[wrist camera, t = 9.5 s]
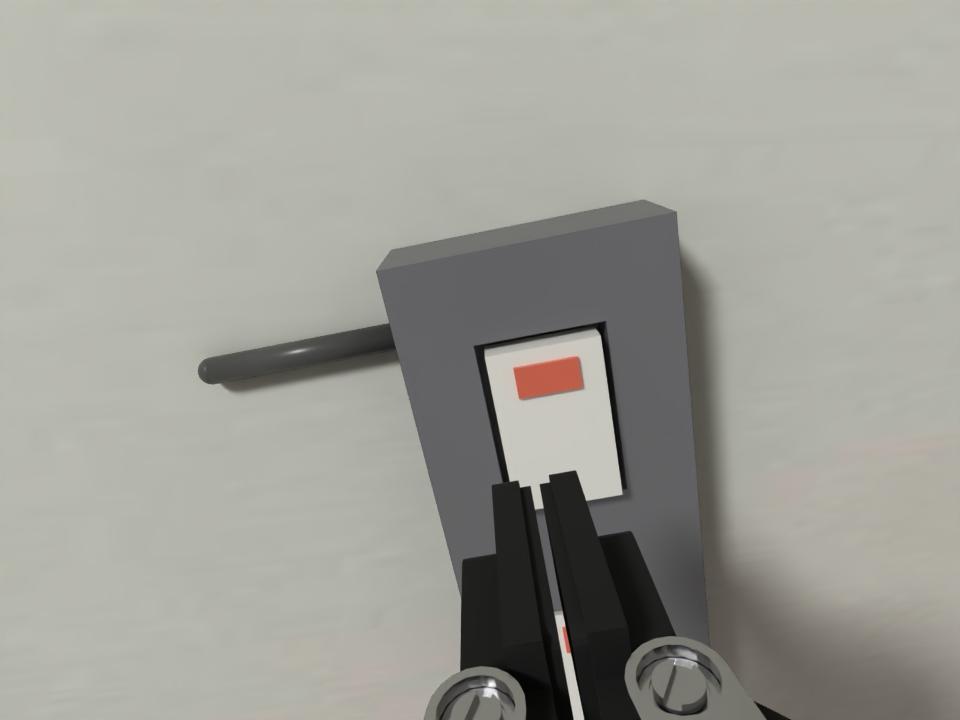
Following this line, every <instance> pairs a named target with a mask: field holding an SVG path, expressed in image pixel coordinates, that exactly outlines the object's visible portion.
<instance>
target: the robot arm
mask: <svg viewBox="0 0 960 720" xmlns="http://www.w3.org/2000/svg"><path fill="white" fill-rule="evenodd" d="M549 481H550V482H549V483H543V484H539V485H540V491H541V496H542V502H543V508H544V513H545V519H546V524H547V530H548V535H549V541H550V546H551V552H552V557H553V563H554V568H555V574H556V580H557V585H558V591H559V596H560V601H561V607H562V612H563V617H564V622H565V627H566V632H567V637H568V642H569V646H570V651H571V656H572V661H573V666H574V671H575V676H576V681H577V686H578V691H579V696H580V701H581V706H582V711H583V716H584V720H791V719H789V718H787V717H785V716H783V715H781V714H779V713H777V712H775V711H773V710H771V709H769V708H767V707H765V706H763V705H761V704H759V703H757V702H755V701H753V700H752V698H751V697H750V695H749V694H748V693H747V691H746V690H745V688H744V687H743V686H742V684H741V683H740V681H739V680H738V678H737V677H736V676H735V674H734V673H733V671H732V670H731V668H730V667H729V666H728V664H727V663H726V662H725V661H724V660H723V659H722V657H721V656H720V655H719V654H718V653H717V652H716V651H714V650H713V649H711V648H709V647H708V646H706V645H705V644H703V643H701V642H698V641H695V640H692V639H689V638H686V637H677V636H676V634H675V631H674V629H673V627H672V624H671V622H670V620H669V617H668V615H667V613H666V610H665V608H664V605H663V603H662V601H661V598H660V596H659V594H658V591H657V589H656V587H655V584H654V582H653V579H652V577H651V575H650V572H649V570H648V568H647V565H646V563H645V561H644V558H643V556H642V553H641V551H640V549H639V546H638V544H637V542H636V539H635V537H634V535H633V533H632V532H631V531H626V532H620V533H614V534H608V535H602V536H598V535H597V532H596V529H595V526H594V523H593V520H592V517H591V514H590V511H589V508H588V505H587V502H586V498H585V495H584V492H583V489H582V486H581V483H580V480H579V477H578V474H577V472H576V470H574V471H568V472H562V473H557V474H551V475H549ZM492 500H493V515H494V530H495V545H496V554H490V555H484V556H479V557H473V558H467V559H463V561H462V597H461V665H460V672H459V673H456V674H454V675H452V676H451V677H450V678H448V679H447V680H446V681H445V682H443V683H442V684H441V685H440V686H439V687H438V689H437V690H436V691H435V693H434V694H433V695H432V697H431V699H430V701H429V704H428V706H427V709H426V712H425V716H424V720H574V718H573V712H572V707H571V701H570V696H569V690H568V685H567V679H566V674H565V669H564V663H563V658H562V652H561V647H560V641H559V636H558V630H557V625H556V619H555V614H554V609H553V603H552V598H551V592H550V587H549V582H548V576H547V571H546V566H545V560H544V555H543V550H542V544H541V539H540V533H539V528H538V523H537V517H536V512H535V507H534V501H533V496H532V491H531V486H526V487H520V484H519V480H517V481H511V482H505V483H500V484H494V485H492Z"/></svg>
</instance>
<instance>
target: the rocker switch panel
mask: <svg viewBox="0 0 960 720" xmlns="http://www.w3.org/2000/svg"><path fill="white" fill-rule="evenodd" d="M376 273H377V277H378V281H379V285H380V289H381V293H382V296H383V300H384V304H385V308H386V312H387V316H388V319H389V323H388V324H383V325H378V326H372V327H367V328H362V329H357V330H352V331H346V332H341V333H336V334H331V335H326V336H320V337H315V338H310V339H305V340H300V341H294V342H289V343H284V344H279V345H273V346H268V347H263V348H258V349H253V350H247V351H242V352H237V353H232V354H227V355H221V356H216V357H211V358H207V359H205V360H203V361H202V362H201V363H200V365H199V367H198V375H199V377H200V379H201V380H202V381H204V382H205V383H208V384H219V383H224V382H229V381H234V380H240V379H245V378H250V377H256V376H261V375H266V374H271V373H277V372H282V371H287V370H293V369H298V368H303V367H308V366H314V365H319V364H324V363H329V362H335V361H340V360H345V359H351V358H356V357H361V356H366V355H372V354H377V353H382V352H388V351H393V350H397V354H398V358H399V362H400V365H401V369H402V373H403V377H404V381H405V385H406V388H407V392H408V396H409V400H410V404H411V408H412V411H413V415H414V419H415V423H416V427H417V431H418V434H419V438H420V442H421V446H422V450H423V454H424V457H425V461H426V465H427V469H428V473H429V477H430V481H431V484H432V488H433V492H434V496H435V500H436V504H437V507H438V511H439V515H440V519H441V523H442V527H443V530H444V534H445V538H446V542H447V546H448V550H449V553H450V557H451V561H452V565H453V569H454V573H455V576H456V580H457V584H458V588H459V592H460V596H461V597H462V561H463V559H467V558H473V557H479V556H484V555H490V554H496V545H495V530H494V515H493V500H492V485H494V484H500V483H505V482H510V480H509V475H508V470H507V465H506V460H505V455H504V450H503V445H502V440H501V435H500V430H499V425H498V420H497V415H496V411H495V406H494V401H493V396H492V391H491V386H490V381H489V376H488V371H487V366H486V361H485V350H484V346H488V345H494V344H499V343H504V342H509V341H515V340H520V339H525V338H531V337H536V336H541V335H547V334H552V333H557V332H563V331H568V330H573V329H579V328H584V327H589V326H594V327H595V328H596V330H597V331H598V333H599V334H600V335H601V341H602V348H603V356H604V363H605V370H606V377H607V385H608V392H609V399H610V406H611V414H612V421H613V428H614V435H615V443H616V450H617V457H618V465H619V472H620V479H621V486H622V494H623V495H618V496H612V497H606V498H600V499H594V500H588V501H586V502H587V505H588V508H589V511H590V514H591V517H592V520H593V523H594V526H595V529H596V532H597V535H598V536H602V535H608V534H614V533H620V532H626V531H631V532H632V533H633V535H634V537H635V539H636V542H637V544H638V546H639V549H640V551H641V553H642V556H643V558H644V561H645V563H646V565H647V568H648V570H649V572H650V575H651V577H652V579H653V582H654V584H655V587H656V589H657V591H658V594H659V596H660V598H661V601H662V603H663V605H664V608H665V610H666V613H667V615H668V617H669V620H670V622H671V624H672V627H673V629H674V631H675V634H676V636H677V637H686V638H689V639H692V640H695V641H698V642H701V643H703V644H705V645H706V646H708V647H709V648H710V645H709V632H708V619H707V605H706V592H705V579H704V566H703V553H702V540H701V527H700V513H699V500H698V487H697V474H696V461H695V448H694V435H693V421H692V408H691V395H690V382H689V369H688V356H687V343H686V329H685V316H684V303H683V290H682V277H681V264H680V251H679V237H678V224H677V212H676V211H673V210H671V209H668V208H665V207H663V206H660V205H657V204H654V203H652V202H649V201H646V200H640V201H635V202H630V203H625V204H620V205H615V206H610V207H605V208H600V209H595V210H590V211H585V212H580V213H575V214H570V215H565V216H560V217H555V218H550V219H545V220H540V221H535V222H530V223H525V224H520V225H515V226H510V227H505V228H500V229H495V230H490V231H485V232H479V233H474V234H469V235H464V236H459V237H454V238H449V239H444V240H439V241H434V242H429V243H424V244H419V245H414V246H409V247H404V248H399V249H394V250H391V251H390V252H389V254H388V255H387V256H386V258H385V259H384V261H383V262H382V263H381V265H380V266H379V267H378V269H377V270H376ZM535 512H536V517H537V523H538V528H539V533H540V539H541V544H542V550H543V555H544V560H545V566H546V571H547V576H548V582H549V587H550V592H551V598H552V603H553V609H554V611H557V610H562V607H561V601H560V596H559V591H558V585H557V580H556V574H555V568H554V563H553V557H552V552H551V546H550V541H549V535H548V530H547V524H546V519H545V513H544V508H542V509H536V510H535Z"/></svg>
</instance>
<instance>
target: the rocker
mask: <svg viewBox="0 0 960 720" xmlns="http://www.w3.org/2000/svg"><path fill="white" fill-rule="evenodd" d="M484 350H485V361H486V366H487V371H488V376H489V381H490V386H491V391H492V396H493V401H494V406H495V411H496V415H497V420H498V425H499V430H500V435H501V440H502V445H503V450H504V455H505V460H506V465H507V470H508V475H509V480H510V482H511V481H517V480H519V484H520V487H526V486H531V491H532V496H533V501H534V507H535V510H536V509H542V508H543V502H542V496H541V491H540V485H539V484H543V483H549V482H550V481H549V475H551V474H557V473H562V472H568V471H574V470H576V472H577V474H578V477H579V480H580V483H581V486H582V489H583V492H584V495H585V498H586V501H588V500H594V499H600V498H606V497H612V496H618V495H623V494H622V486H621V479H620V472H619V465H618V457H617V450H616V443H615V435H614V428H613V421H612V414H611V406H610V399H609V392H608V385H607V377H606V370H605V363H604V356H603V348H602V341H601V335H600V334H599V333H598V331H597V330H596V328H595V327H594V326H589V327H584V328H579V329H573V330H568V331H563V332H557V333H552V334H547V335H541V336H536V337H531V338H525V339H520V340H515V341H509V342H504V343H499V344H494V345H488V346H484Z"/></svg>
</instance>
